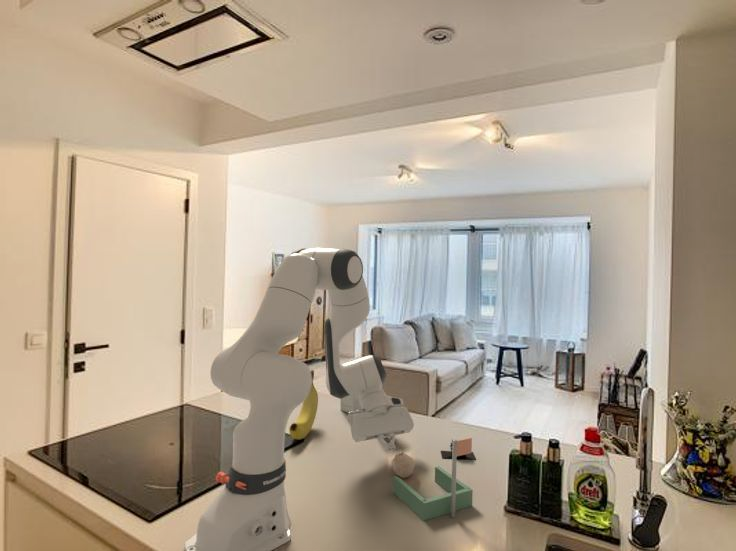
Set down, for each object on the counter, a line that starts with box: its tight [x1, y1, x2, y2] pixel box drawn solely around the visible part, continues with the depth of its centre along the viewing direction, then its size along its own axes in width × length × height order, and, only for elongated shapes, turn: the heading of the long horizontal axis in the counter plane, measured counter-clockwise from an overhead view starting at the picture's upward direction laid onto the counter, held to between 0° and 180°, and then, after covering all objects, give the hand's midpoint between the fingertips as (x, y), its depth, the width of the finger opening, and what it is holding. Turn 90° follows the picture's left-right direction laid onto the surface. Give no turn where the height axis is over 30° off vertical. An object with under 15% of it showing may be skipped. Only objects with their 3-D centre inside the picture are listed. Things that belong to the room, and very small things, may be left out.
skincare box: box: [339, 393, 361, 414], centre depth 173 cm, size 8×6×15 cm
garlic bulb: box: [392, 451, 415, 479], centre depth 120 cm, size 7×6×8 cm
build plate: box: [440, 439, 477, 461], centre depth 134 cm, size 13×8×5 cm, turn 87°
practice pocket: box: [392, 437, 474, 521], centre depth 107 cm, size 16×14×18 cm
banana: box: [288, 369, 319, 440], centre depth 148 cm, size 23×6×20 cm, turn 171°
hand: (390, 450), depth 126 cm, fingers closed
